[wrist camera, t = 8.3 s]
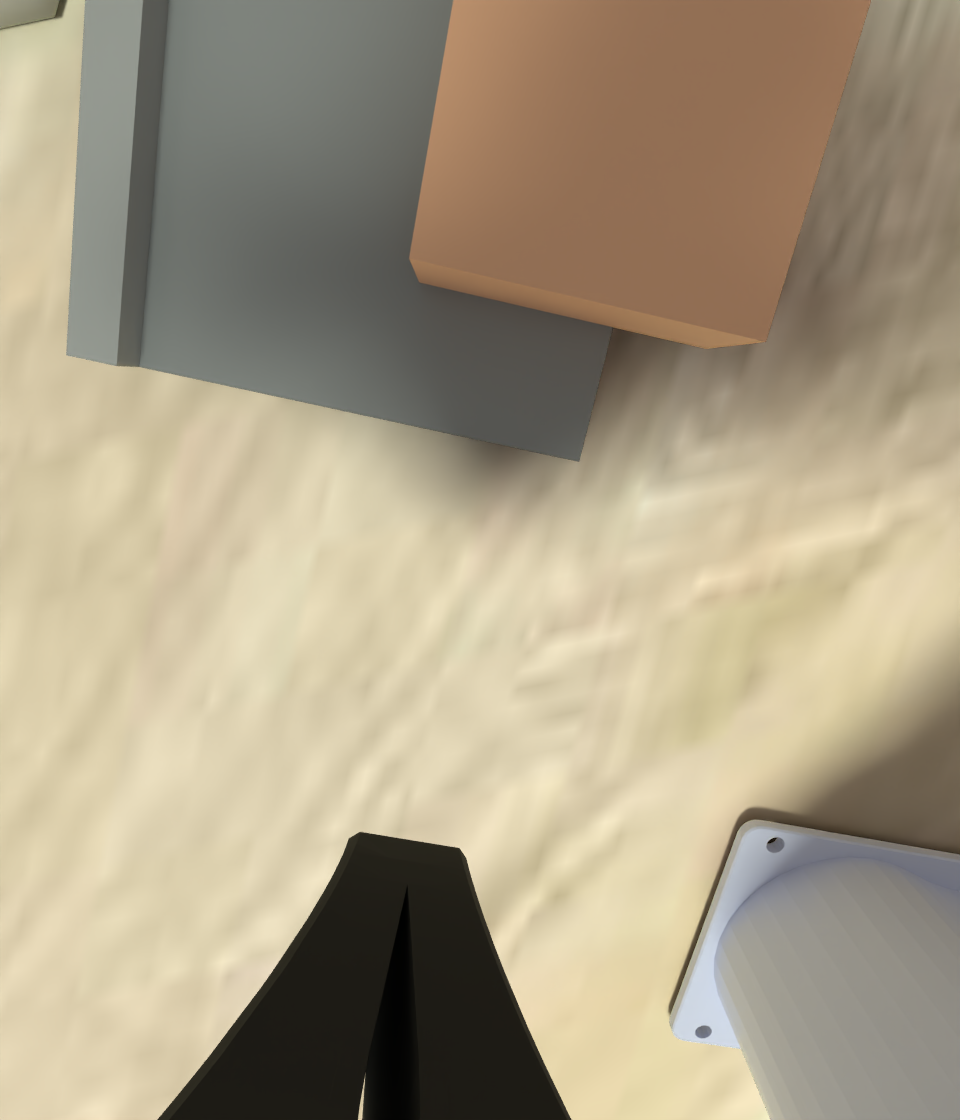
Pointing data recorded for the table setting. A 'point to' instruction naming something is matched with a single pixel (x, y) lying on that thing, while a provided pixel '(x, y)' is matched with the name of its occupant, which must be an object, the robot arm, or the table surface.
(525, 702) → the table surface
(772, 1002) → the robot arm
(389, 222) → the grey tray
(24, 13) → the flask
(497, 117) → the slab
